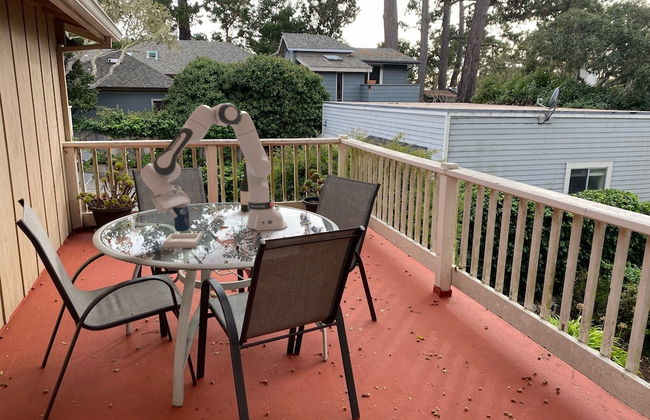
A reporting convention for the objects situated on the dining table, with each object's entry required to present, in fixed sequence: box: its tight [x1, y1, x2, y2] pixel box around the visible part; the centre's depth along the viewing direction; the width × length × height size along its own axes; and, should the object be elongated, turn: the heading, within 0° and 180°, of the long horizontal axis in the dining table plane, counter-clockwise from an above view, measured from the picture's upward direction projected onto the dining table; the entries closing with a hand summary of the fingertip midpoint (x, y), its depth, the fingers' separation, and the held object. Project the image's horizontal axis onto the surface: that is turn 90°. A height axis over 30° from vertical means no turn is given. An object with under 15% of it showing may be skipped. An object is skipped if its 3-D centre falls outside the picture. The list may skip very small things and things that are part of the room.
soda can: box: [173, 205, 191, 233], centre depth 237 cm, size 7×7×12 cm
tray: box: [162, 232, 203, 249], centre depth 240 cm, size 15×15×3 cm
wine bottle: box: [239, 162, 249, 212], centre depth 311 cm, size 8×8×30 cm
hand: (182, 215), depth 237 cm, fingers closed on soda can, 7 cm apart
